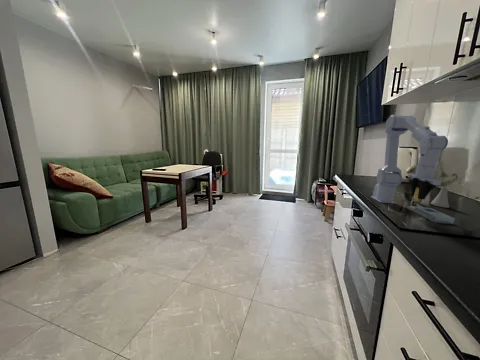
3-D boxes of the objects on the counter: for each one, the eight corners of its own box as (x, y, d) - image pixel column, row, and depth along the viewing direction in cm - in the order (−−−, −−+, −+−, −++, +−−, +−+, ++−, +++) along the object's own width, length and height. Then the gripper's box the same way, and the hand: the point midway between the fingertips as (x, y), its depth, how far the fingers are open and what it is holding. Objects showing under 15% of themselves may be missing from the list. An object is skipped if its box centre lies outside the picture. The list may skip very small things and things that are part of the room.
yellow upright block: (410, 199, 86) (414, 186, 85) (417, 200, 86) (421, 187, 85) (415, 202, 83) (419, 188, 82) (423, 202, 83) (427, 189, 82)
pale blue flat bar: (407, 208, 98) (408, 203, 97) (422, 209, 97) (423, 204, 97) (434, 222, 82) (436, 216, 82) (453, 223, 82) (454, 218, 81)
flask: (433, 206, 103) (438, 187, 101) (428, 202, 110) (433, 184, 107) (452, 209, 100) (458, 190, 98) (445, 205, 107) (451, 187, 104)
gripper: (403, 162, 88) (396, 191, 92) (430, 168, 74) (421, 202, 78) (421, 163, 88) (413, 193, 91) (451, 169, 74) (440, 204, 77)
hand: (417, 197), depth 84 cm, fingers closed on yellow upright block, 3 cm apart
